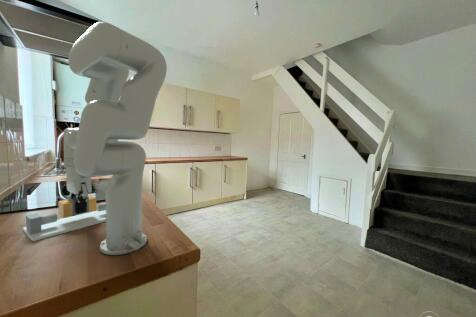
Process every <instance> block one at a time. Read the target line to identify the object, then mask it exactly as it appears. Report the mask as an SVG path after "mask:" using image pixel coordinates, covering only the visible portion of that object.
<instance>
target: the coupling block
mask: <svg viewBox="0 0 476 317" xmlns="http://www.w3.org/2000/svg"><path fill="white" fill-rule="evenodd" d="M80 196H82V195H80ZM80 196H79V198H80ZM57 202H58V215H59V216H60V217H61V218H67V217H71V216H76V215H80V214H85V213H89V212H93V211H97V197H95V196H93V195H88V197H87V211H86V212H83V213H79V214H77V213H76V203H77V199H76V196H70V195H69V196H66V199H63V200H59V201H57Z"/></svg>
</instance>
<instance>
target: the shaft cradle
mask: <svg viewBox="0 0 476 317" xmlns="http://www.w3.org/2000/svg"><path fill="white" fill-rule="evenodd" d="M96 207H97V211H93V212H89V213H85V214H80V215H76V216H71V217H67V218H63V217H61V218H58V215H57V213H56V212H53V213H49V214H43V215H40V214H38V212H37V213H31V214H26V215H25V222H26V223H25V224H26V226H24V227H22V231H23V232H24V234H26V235H27V237H28V238H29V239H30V240H31V242H36V241H39V240H42V239H48V238H50V237H54V236H58V235H61V234H64V233H65V234H66V233H68V232H71V231H76V230H80V229H83V228H86V227H89V226H94V225H98V224H101V223H104V222H105V223H106V202H103V203H96Z"/></svg>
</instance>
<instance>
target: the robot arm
mask: <svg viewBox="0 0 476 317" xmlns="http://www.w3.org/2000/svg"><path fill="white" fill-rule="evenodd" d="M68 66H69V69H70V70H71V72H72V73H73V74H75V75H77V76H81V77H84V78H87V79H90V80H89V82H88V87H87V90H86V93H85V94H84V101H85V102H86V105H85V106H84V108H83V109H82V111H81V115H80V119H79V123H78V127H67V128H65V129H63V167H64V168H66V175H65V176H66V177H65V178H66V181H65V183H66V184H65V185H66V190H67V192H69V197H70V196H76V199H77V203H76V213H77V214H79V213H83V212H86V211H87V197H88V196H89V194H91V193H92V191H93V190H92V178H99V177H106V176H107V177H108V176H111V178H110V179H109V181H108V182H107V185H106V188H105V203H106V221H105V239H103V240H102V241H101V242H100V244H99V251H100V252H101V253H103V254H104V255H108V256H109V255H110V256H118V255H119V256H120V255H126V254H129V253H133V252H135V251H138V250H140V248H143V247H144V246H145V245H146V243H147V242H148V237H147V235H146V234H145V233H144V232H143V230H142V229H143V228H142V227H143V226H142V218H143V215H142V214H143V213H142V212H143V209H142V208H143V207H142V206H143V201H142V200H143V197H142V196H143V195H142V194H143V177H144V170H145V165H146V162H147V161H146V160H147V156H146V155H147V154H146V151H145V149H144V147H143V146H142V145H141V144H138V143H136V142H133V141H135V140H141V139H143V138H145V136H146V135H147V133H148V130H149V128H150V124H151V120H152V117H153V113H154V111H155V110H154V109H155V105H156V100H157V97H158V95H159V93H160V91H161V89H162V86H163V84H164V82H165V79H166V75H167V70H168V69H167V67H168V66H167V62H166V59H165V56H164V54H162V52H161V51H160V50H159V49H158V48H156V47H155V46H153V45H152V44H150V43H149V42H147V41H145V40H143V39H141V38H140V37H137V36H135V35H133V34H131V33H130V32H127V31H125V30H123V29H122V28H120V27H118V26H116V25H114V24H112V23H109V22H105V21H98V22H96V23H93V25H91V26H90V27H89V28H88V29H87V30H86V31H85V32H84V33H83V34H82V35H81V36H80V37H79V38H78V39H77V40H76V41H75V42H74V43H73V45H72V47H71V49H70V51H69V53H68ZM130 71H132V72H135V74H133V75H132V76H131V77H129V74H130ZM128 77H129V78H128ZM119 140H120V141H119ZM121 140H123V141H121ZM124 140H125V141H124ZM128 140H130V141H128ZM131 140H133V141H131ZM80 195H82V196H80ZM79 196H80V198H79Z"/></svg>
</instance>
